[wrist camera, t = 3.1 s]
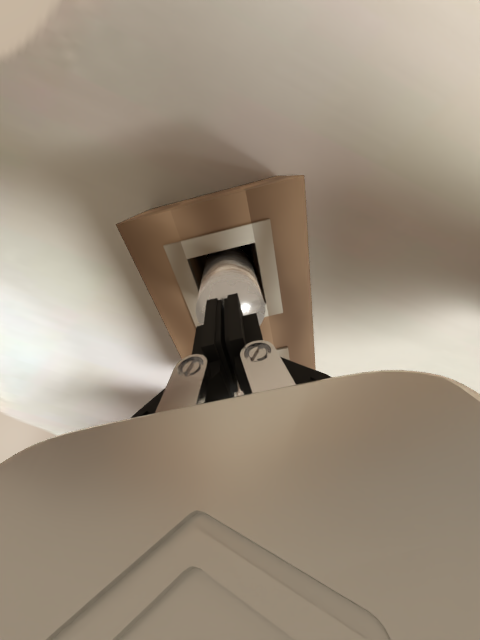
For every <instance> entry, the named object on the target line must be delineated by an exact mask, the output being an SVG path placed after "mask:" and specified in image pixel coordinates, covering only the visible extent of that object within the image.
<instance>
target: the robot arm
mask: <svg viewBox="0 0 480 640" xmlns="http://www.w3.org/2000/svg"><path fill="white" fill-rule="evenodd" d="M237 381H238V384H239V387H240V390H241V391H243V393H244V395H241V396H237V397H234V393H235V392H238V384H237ZM0 640H480V394H479V393H477V392H476V391H474V390H472V389H471V388H469V387H467V386H465V385H464V384H461V383H459V382H457V381H455V380H453V379H450V378H447V377H444V376H441V375H436V374H431V373H425V372H417V371H406V370H381V371H371V372H362V373H356V374H350V375H344V376H338V377H330V376H328V375H327V374H324V373H321V372H319V371H316V370H314V369H311V368H308V367H306V366H303V365H301V364H298V363H295V362H293V361H290V360H288V359H285V358H282V357H280V356H279V354H278V352H277V350H276V349H275V347H274V346H273V344H272V343H270V342H268V341H264V340H263V337H262V333H261V330H260V326H259V322H258V318H257V314H256V313H253V314H249V315H244V316H243V313H242V309H241V305H240V301H239V297H238V294H237V293H235V294H231V295H227V298H225V299H224V306H223V303H222V300H218V299H217V298H214V299H209V300H207V301H206V309H205V317H204V325H200V326H197V327H196V332H195V338H194V344H193V350H192V355H189V356H187V357H185V358H183V359H182V360H180V361H179V362H178V363H177V364H176V366H175V368H174V370H173V372H172V375H171V377H170V379H169V381H168V384H167V386H166V388H165V389H164V390H163V391H161V392H160V393H159V394H158V395H157V396H155V397H154V398H153V399H152V400H151V401H150V402H148V403H147V404H146V405H145V406H144V407H143V408H141V409H140V410H139V411H138V412H137V413H135V414H134V415H133V416H132V417H131V418H130V419H126V420H121V421H116V422H111V423H106V424H102V425H97V426H93V427H88V428H84V429H80V430H76V431H72V432H68V433H64V434H61V435H58V436H55V437H52V438H49V439H47V440H44V441H42V442H39V443H37V444H34V445H32V446H30V447H28V448H26V449H24V450H22V451H20V452H18V453H17V454H15V455H13V456H12V457H10V458H9V459H7V460H5V461H4V462H2V463H1V464H0Z"/></svg>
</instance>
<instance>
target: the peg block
mask: <svg viewBox="0 0 480 640" xmlns="http://www.w3.org/2000/svg"><path fill="white" fill-rule="evenodd" d="M116 226H117V228H118V230H119V232H120V234H121V236H122V238H123V240H124V242H125V244H126V246H127V248H128V250H129V252H130V254H131V256H132V258H133V261H134V263H135V265H136V267H137V269H138V271H139V273H140V275H141V277H142V279H143V281H144V283H145V285H146V287H147V289H148V291H149V293H150V295H151V297H152V299H153V301H154V303H155V305H156V307H157V309H158V311H159V313H160V316H161V318H162V320H163V322H164V324H165V326H166V328H167V330H168V332H169V334H170V336H171V338H172V340H173V342H174V344H175V346H176V348H177V350H178V352H179V354H180V356H181V358H182V359H183V358H185V357H187V356H189V355H192V350H193V344H194V338H195V332H196V327H197V326H200V324H199V322H198V320H197V316H196V304H197V299H198V295H199V290H200V285H201V280H202V276H203V271H204V266H205V262H206V258H205V255H206V254H210V253H214V252H218V251H222V250H226V249H231V248H235V247H239V246H243V245H247V244H250V249H251V254H252V259H253V264H254V268H253V269H254V272H255V275H256V278H257V281H258V284H259V287H260V290H261V293H262V296H263V299H264V303H265V316H264V319H263V321H262V323H261V325H260V330H261V333H262V337H263V340H264V341H268V342H270V343H272V344H273V346H274V347H275V349H276V350H277V352H278V354H279V356H280V357H282V358H285V359H288V360H290V361H293V362H295V363H298V364H301V365H303V366H306V367H308V368H311V369H314V370H315V353H314V336H313V319H312V301H311V284H310V267H309V249H308V232H307V215H306V197H305V180H304V175H294V176H275V177H271V178H267V179H264V180H260V181H256V182H252V183H248V184H245V185H241V186H237V187H233V188H229V189H226V190H222V191H218V192H214V193H210V194H207V195H203V196H199V197H195V198H191V199H188V200H184V201H180V202H176V203H173V204H169V205H165V206H161V207H157V208H154V209H150V210H148V211H145V212H143V213H141V214H139V215H136V216H134V217H132V218H130V219H127V220H125V221H123V222H120V223H118V224H116ZM234 397H237V392H235V393H234Z"/></svg>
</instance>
